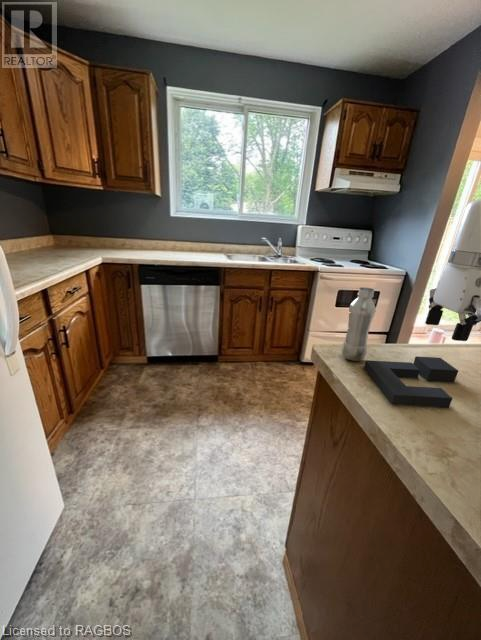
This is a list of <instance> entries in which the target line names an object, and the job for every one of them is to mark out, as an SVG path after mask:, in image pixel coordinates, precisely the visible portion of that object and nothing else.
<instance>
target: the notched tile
mask: <svg viewBox="0 0 481 640" xmlns="http://www.w3.org/2000/svg"><path fill="white" fill-rule="evenodd" d="M413 363H414V362H405V361H390V360H389V361H387V360H368V359H367V360H366V359H365V360H364V364H363V365H364V366H363V369H364V371H365V372H366V374H367V375H368V376H369V377H370V379H371V380H372V381H373V382H374V384H375V385H376V387H377V388H378V389H379V390H380V391H381V393H382V394H383V395H384V397H385V398H386V399H387V400H388V402H389V403H390V404H391V405H392V406H406V407H407V406H410V407H426V408H444V409H450V407H451V404H452V401H453V397H452V396H451V395H450V394H449V393H447V392H446V391H445V390H444V389H443V388H442V387H432V386H413V385H406V384H405V383H404V382H403V381H402V380H401V379H418V378H419V376H420V374H419V372H420V369H418V368H417V367H416V366H415V365H414V364H413ZM400 378H401V379H400Z"/></svg>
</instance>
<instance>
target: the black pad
mask: <svg viewBox="0 0 481 640" xmlns="http://www.w3.org/2000/svg"><path fill="white" fill-rule="evenodd" d="M412 363H413V364H414V365H415V366H416V367H417V368H418V369H420V372H419V376H420V377H422V378H423V379H424V380H425V381H426V382H431V383H449V384H455V381H456V379H457V376H458V373H459V370H458V369H457V368H455V367H454V366H453V365H451V364H450V363H448V361H446V360H445V359H443V358H442V357H436V356H435V357H433V356H418V355H417V356H415V357H414V359H413V362H412Z"/></svg>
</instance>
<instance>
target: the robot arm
mask: <svg viewBox="0 0 481 640" xmlns="http://www.w3.org/2000/svg"><path fill="white" fill-rule="evenodd" d="M428 302H429V304H428V313H427V316H426V319H425V322H424V323H425V325H428V326H439V325H440V323H441V319H442V317H443V313H444V310H443V309H446V310H449V311H451V312H453V313H456V314H458V319H459V322H456V325H455V327H454V330H453V332H452V335H451V340H453V341H456V342H467V341H468V340H469V337H470V334H471V332H472V330H473V327H474V326H477V325H478V324H479V323H480V322H481V198H479V199H473V200H472V201H470V202H468V204H467V205H466V206H465V209H464V212H463V215H462V218H461V222H460V224H459V227H458V230H457V233H456V236H455V238H454V242H453V245H452V249H451V251H450V254H449V258H448V260H447V264H446V265H445V267H444V269H443V271H442V273H441V275H440V278H439V280H438V283H437V285H436V287H434V288H431V289H430V290H429V299H428ZM467 316H468V317H467Z"/></svg>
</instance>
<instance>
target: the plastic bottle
mask: <svg viewBox="0 0 481 640" xmlns="http://www.w3.org/2000/svg"><path fill="white" fill-rule="evenodd" d="M374 294H375V289H374V288H370V287H359V288H358V292H357V298H355V299H354V300H353V301H352V302H351V303H350V305H349V306H348V307H349V308H348V311H349V312H348V323H347V330H346V334H345V337H344V340H343V342H342V345H341V355H342V357H343V358H345V359H347V360H349V361H353V362H360V361H362V360H364V359H365V358H366V355H367V354H368V352H367V351H368V338H369V333H370V328H371V325H372V323H373V320H374V317H375V315H376V311H377V310H376V308H377V307H376V306H375V303H374V301H373V298H374V297H375V295H374Z"/></svg>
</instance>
